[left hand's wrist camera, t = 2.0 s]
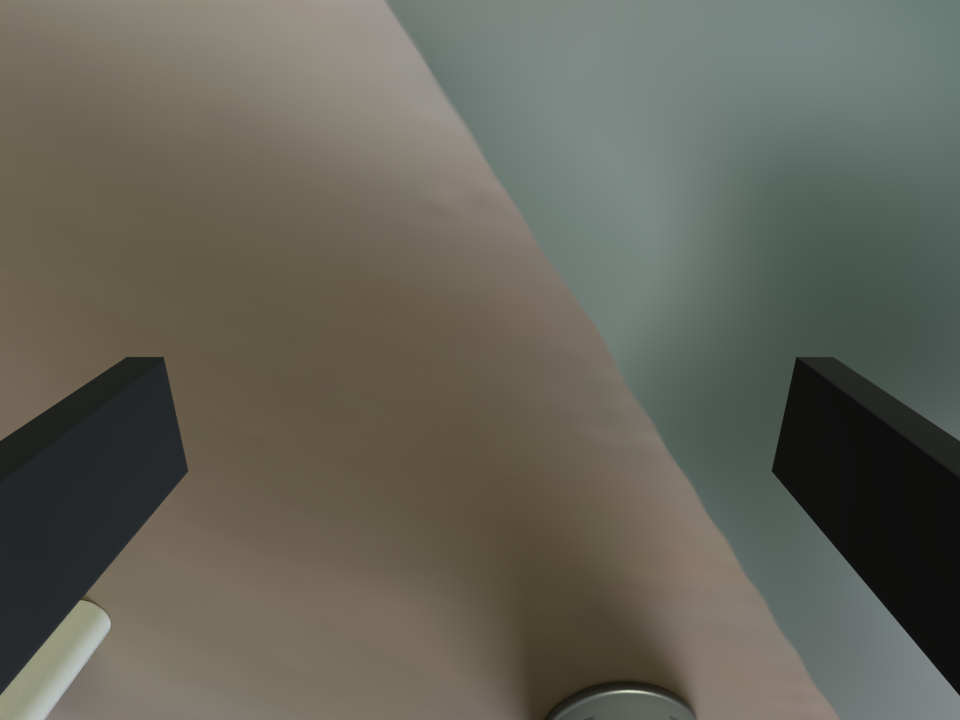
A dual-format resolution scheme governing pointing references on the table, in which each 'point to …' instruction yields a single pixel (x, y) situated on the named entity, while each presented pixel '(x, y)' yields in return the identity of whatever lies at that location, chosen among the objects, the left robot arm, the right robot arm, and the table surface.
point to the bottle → (55, 664)
